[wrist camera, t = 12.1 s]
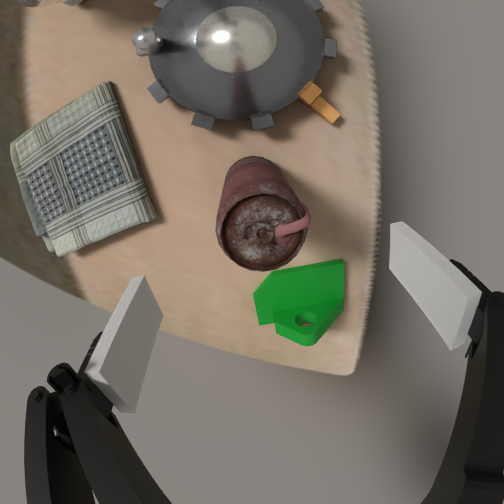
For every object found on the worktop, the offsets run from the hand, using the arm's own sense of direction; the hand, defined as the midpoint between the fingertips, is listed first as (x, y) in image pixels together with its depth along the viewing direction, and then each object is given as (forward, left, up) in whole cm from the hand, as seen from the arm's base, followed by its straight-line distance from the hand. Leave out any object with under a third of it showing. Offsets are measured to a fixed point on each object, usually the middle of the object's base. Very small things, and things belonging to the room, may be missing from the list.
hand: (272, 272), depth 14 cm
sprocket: (-12, -10, -17) cm, 23 cm away
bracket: (+9, +13, -19) cm, 24 cm away
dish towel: (+10, -20, -19) cm, 29 cm away
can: (0, 0, -18) cm, 18 cm away
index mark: (-11, +1, -18) cm, 21 cm away
